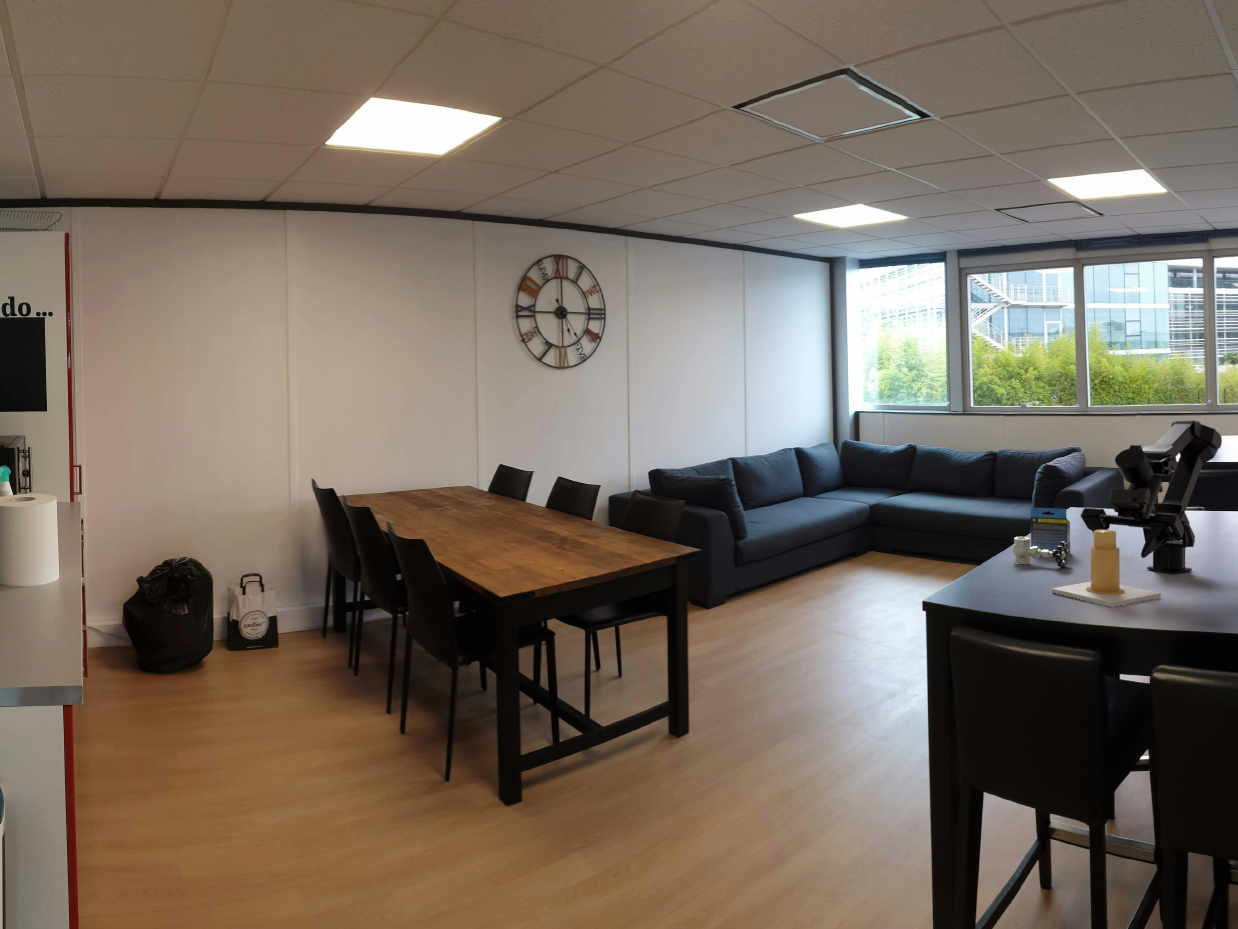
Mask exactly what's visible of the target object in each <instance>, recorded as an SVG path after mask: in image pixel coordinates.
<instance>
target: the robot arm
mask: <svg viewBox="0 0 1238 929" xmlns="http://www.w3.org/2000/svg"><path fill="white" fill-rule="evenodd" d="M1222 442H1223V439H1222V435H1221V434H1220V432H1218V431H1217V430H1216V429H1215V428H1214V427H1213V428H1212V427H1210V426H1207V425H1204V424H1202V423H1201V422H1200V421H1198V420H1192V419H1190V420H1188V419H1187V420H1185V419H1184V420H1183V419H1181V420H1176V421H1173V422H1172V423H1171V427H1170V428H1169V429H1168V430H1167V431H1166V432H1165V433H1164V434H1163V435H1162V436H1161V437H1160V438H1159V439H1158V440H1157V441H1156V442H1155V443H1154V444H1150V445H1146V446H1143V447H1142V444H1130V446H1129V448H1126V449H1124V450H1122V451H1120V452H1119V453H1118V454H1117V455H1116V456H1115V458H1114V462H1115V464H1116V466H1117V468H1118V470H1119V472H1120V474H1121V476H1122V477H1123V479H1124V481H1125V482H1127V483H1129V484H1128V487H1127V488H1111V489H1110V494H1109V499H1108V503H1109V505H1110V504H1111V505H1113V509H1112V510H1113V511H1114V512H1115V513H1117V515H1115V514H1107V512H1106V511H1105V509H1104V508H1100V507H1088V506H1087V507H1084V508H1083V510H1082V511H1081V514H1080V518H1081V519H1082V521H1083V523H1084V524H1085V526H1086V528H1087V529H1088V530H1090V531H1092V533H1093V536H1094V531H1095V530H1110V527H1111V525H1112V526H1113V525H1114V526H1115V525H1117V526H1125V527H1129V528H1130V527H1131V528H1141V529H1142V531H1143V532H1142V533H1143V537H1144V544H1143V547H1142V549H1141V553H1140V557H1141V558H1143V559H1145V558H1146V557H1148V556H1149V555H1150V554H1152V565H1151V566H1147V567H1146V569H1147V570H1150V571H1156V572H1160V573H1161V572H1162V573H1166V574H1170V575H1172V574H1173V575H1175V574H1180V573H1186V572H1193V568H1191V567H1186V549H1187V548H1194V547H1195V541H1196V535H1195V533H1194V531H1193V529H1192V528H1191V524H1190V520H1189V518H1188V516H1187V513H1186V510H1187V507H1188V504H1189V502H1190V499H1191V497H1192V493H1193V491H1194V489H1195V486H1196V483H1197V480H1198V477H1199V475H1200V472H1201V470H1202V467H1203V466H1204V464H1206V463H1208V462H1210V461H1211V460H1213V459H1214V458H1215V456H1216V455H1217V453H1218V451H1219V449H1221V446H1222ZM1178 455H1180V456H1179V458H1178V460H1177V456H1178ZM1171 474H1172V477H1171V479H1170V481H1169V484H1168V487H1167V488H1166V491H1165V494H1164V496H1163V499H1162V501H1161V502H1156V501H1157V498H1158V495H1159V493H1163V491H1164V488H1163V486H1162V484H1163V482H1162V481H1163V480H1162V479H1161V477H1160V476H1170V475H1171Z"/></svg>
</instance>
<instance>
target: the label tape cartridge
mask: <svg viewBox="0 0 1238 929" xmlns="http://www.w3.org/2000/svg"><path fill="white" fill-rule="evenodd" d="M1047 512H1049V513H1051V514H1044V513H1047ZM1052 513H1053V514H1052ZM1070 523H1071V522H1070V521H1069V520H1068V518H1067V508H1054V507H1053V508H1052V507H1031V506H1030V547H1033V546H1037V547H1039V549H1041V551H1043V549H1045V550H1050V552H1053V550H1057V547H1058V546H1062V544H1060V542H1061V541H1062V542H1065V543H1066V544H1068V548H1067V551H1069V554H1070V553H1071V524H1070Z"/></svg>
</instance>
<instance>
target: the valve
mask: <svg viewBox="0 0 1238 929" xmlns="http://www.w3.org/2000/svg"><path fill="white" fill-rule="evenodd" d="M1013 544H1014V546H1013V548H1012V553H1013V556H1014V557H1013V558H1014V560H1013V562H1015V563H1018V564H1029V565H1031V558H1032V559H1038V558H1039V557H1041V556H1042V557H1043V558H1050V557H1052V559H1054V560H1055V562H1056V563H1057V564H1056V565H1057V567H1061V568H1060V569H1066V568H1065V567H1067V565H1068V563H1069V559H1068V556H1069V555H1070V553H1069V551H1067V548H1068V544H1066V543H1065V542H1062V541H1061V542H1060V544H1062V546H1058V547H1057V550H1053V552H1050V550H1045V549H1043V551H1041V549H1039V547H1037V546H1033V547H1031V538H1029V537H1026V536H1016V537H1014V538H1013ZM1015 563H1014V564H1015ZM1018 564H1017V565H1018Z"/></svg>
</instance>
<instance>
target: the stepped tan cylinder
mask: <svg viewBox="0 0 1238 929" xmlns="http://www.w3.org/2000/svg"><path fill="white" fill-rule="evenodd" d="M1120 560H1121V559H1120V547H1117V531H1116V530H1111V529H1108V530H1095V531H1094V535H1093V545H1092V546H1090V582H1091V590H1093V591H1096V592H1103V593H1116V592H1119V591H1120V585H1121V583H1120V576H1121V575H1120V571H1121V570H1120Z"/></svg>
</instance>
